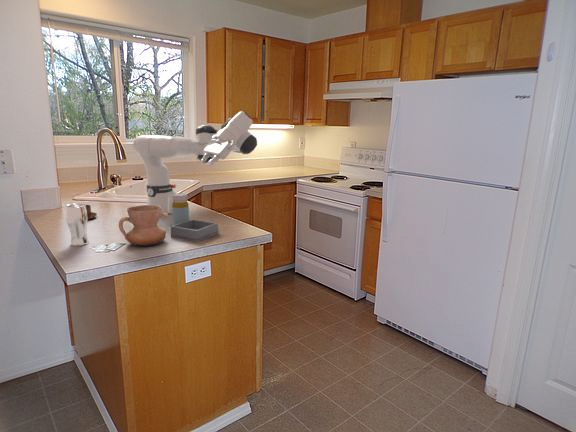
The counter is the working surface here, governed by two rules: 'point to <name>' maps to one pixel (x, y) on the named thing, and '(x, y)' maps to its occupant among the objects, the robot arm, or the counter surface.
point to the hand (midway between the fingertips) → (205, 163)
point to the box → (194, 230)
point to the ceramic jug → (144, 225)
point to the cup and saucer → (89, 212)
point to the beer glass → (77, 223)
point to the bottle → (180, 208)
